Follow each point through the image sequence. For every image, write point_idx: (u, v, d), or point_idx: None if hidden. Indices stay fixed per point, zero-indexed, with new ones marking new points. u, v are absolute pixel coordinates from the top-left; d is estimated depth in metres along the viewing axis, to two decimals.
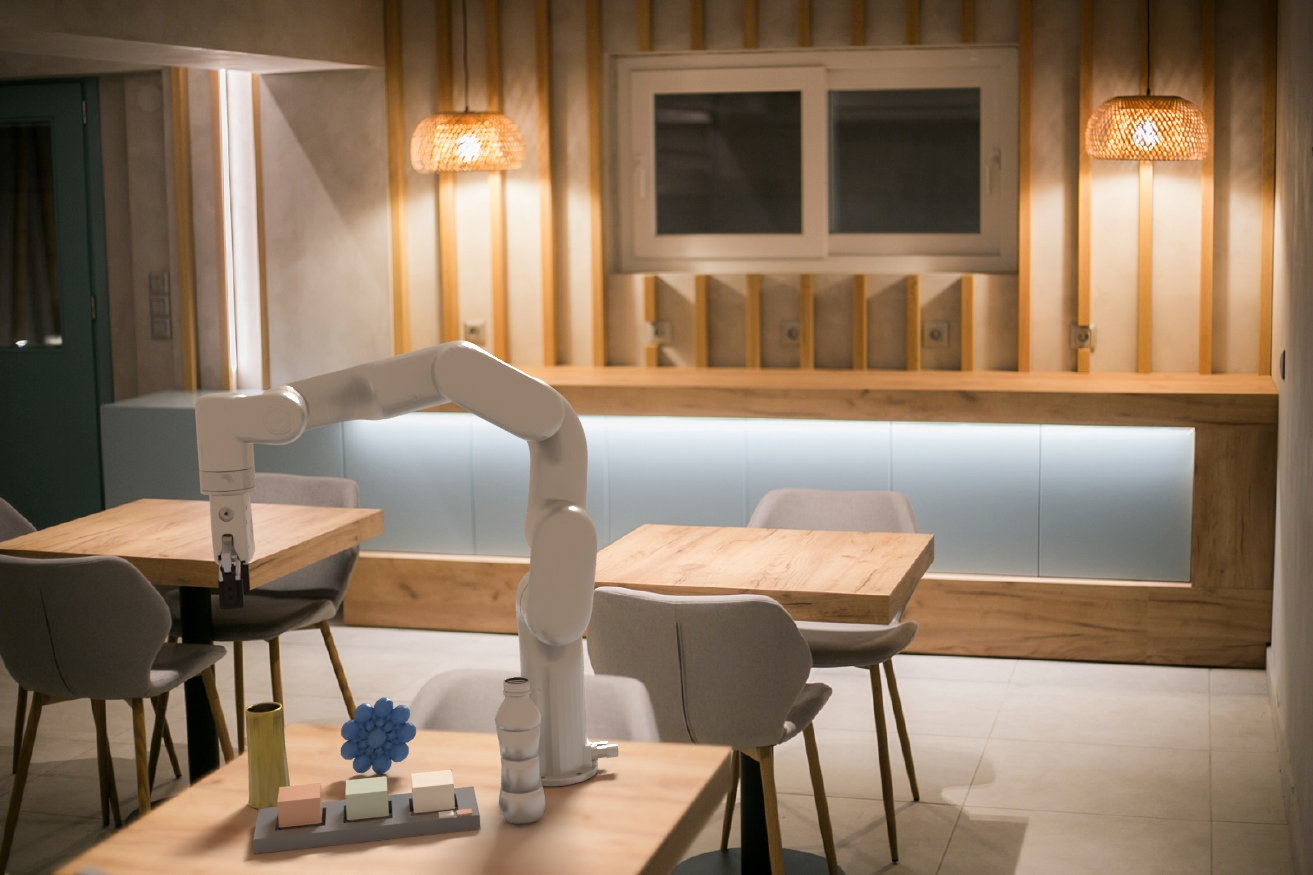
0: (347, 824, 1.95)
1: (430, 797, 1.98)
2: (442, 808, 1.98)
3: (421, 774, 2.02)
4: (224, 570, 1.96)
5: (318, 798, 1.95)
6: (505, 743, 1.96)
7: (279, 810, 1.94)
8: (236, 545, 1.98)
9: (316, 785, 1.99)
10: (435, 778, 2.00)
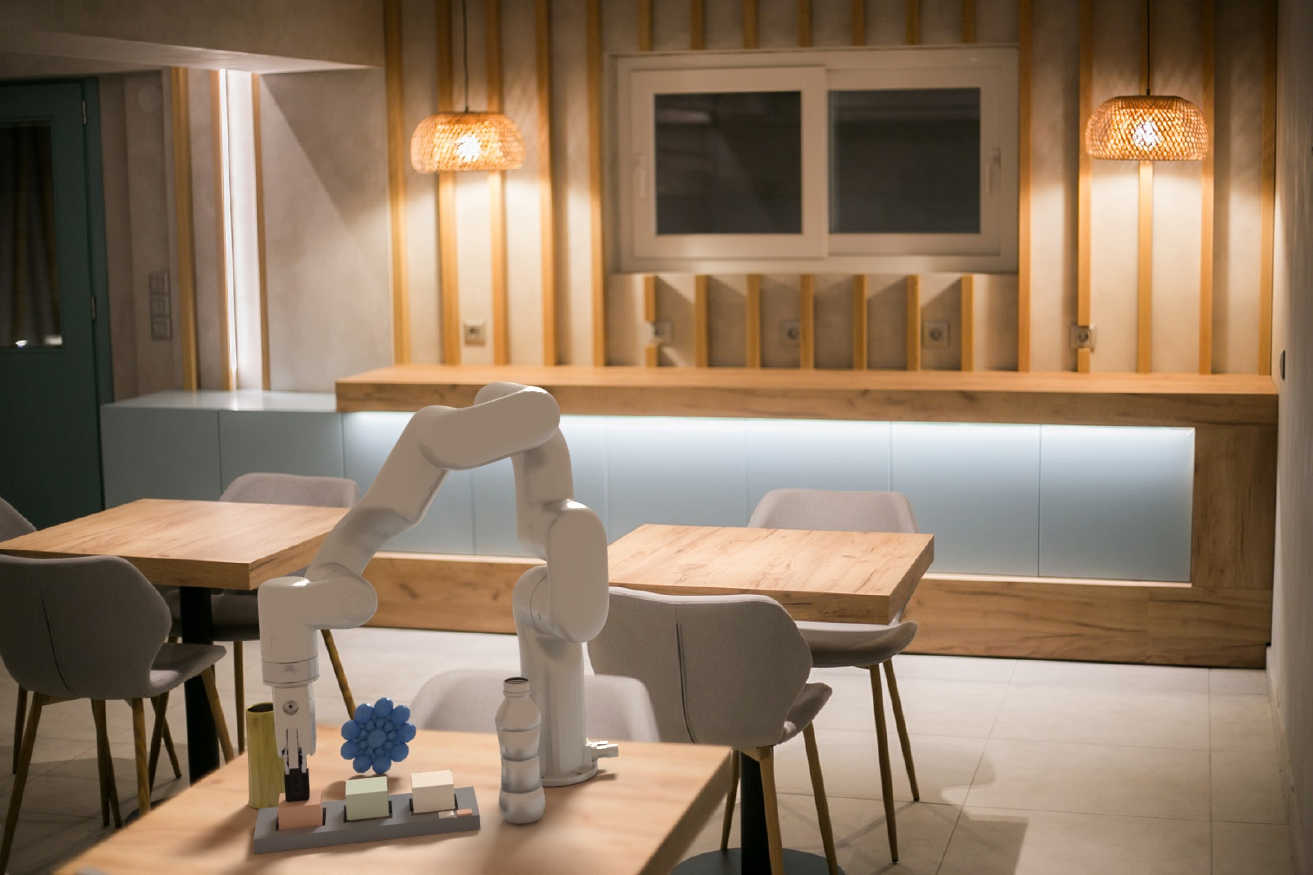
0: (347, 824, 1.95)
1: (430, 797, 1.98)
2: (442, 808, 1.98)
3: (421, 774, 2.02)
4: None
5: (318, 804, 1.95)
6: (505, 743, 1.96)
7: (279, 816, 1.94)
8: (301, 739, 1.91)
9: (316, 791, 1.99)
10: (435, 778, 2.00)
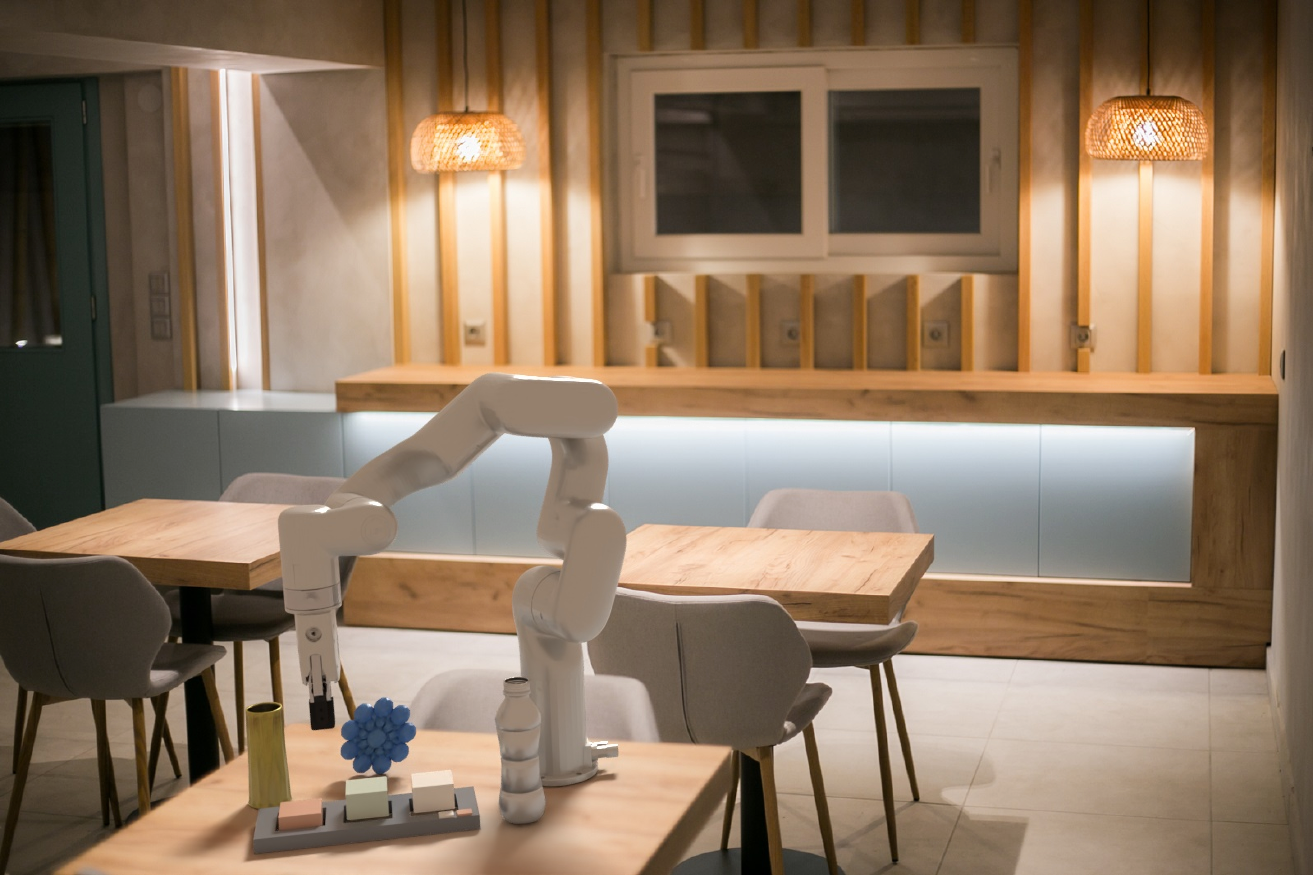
0: (347, 824, 1.95)
1: (430, 797, 1.98)
2: (442, 808, 1.98)
3: (421, 774, 2.02)
4: None
5: (319, 813, 1.95)
6: (505, 743, 1.96)
7: (280, 825, 1.94)
8: (324, 666, 1.91)
9: (317, 800, 2.00)
10: (435, 778, 2.00)
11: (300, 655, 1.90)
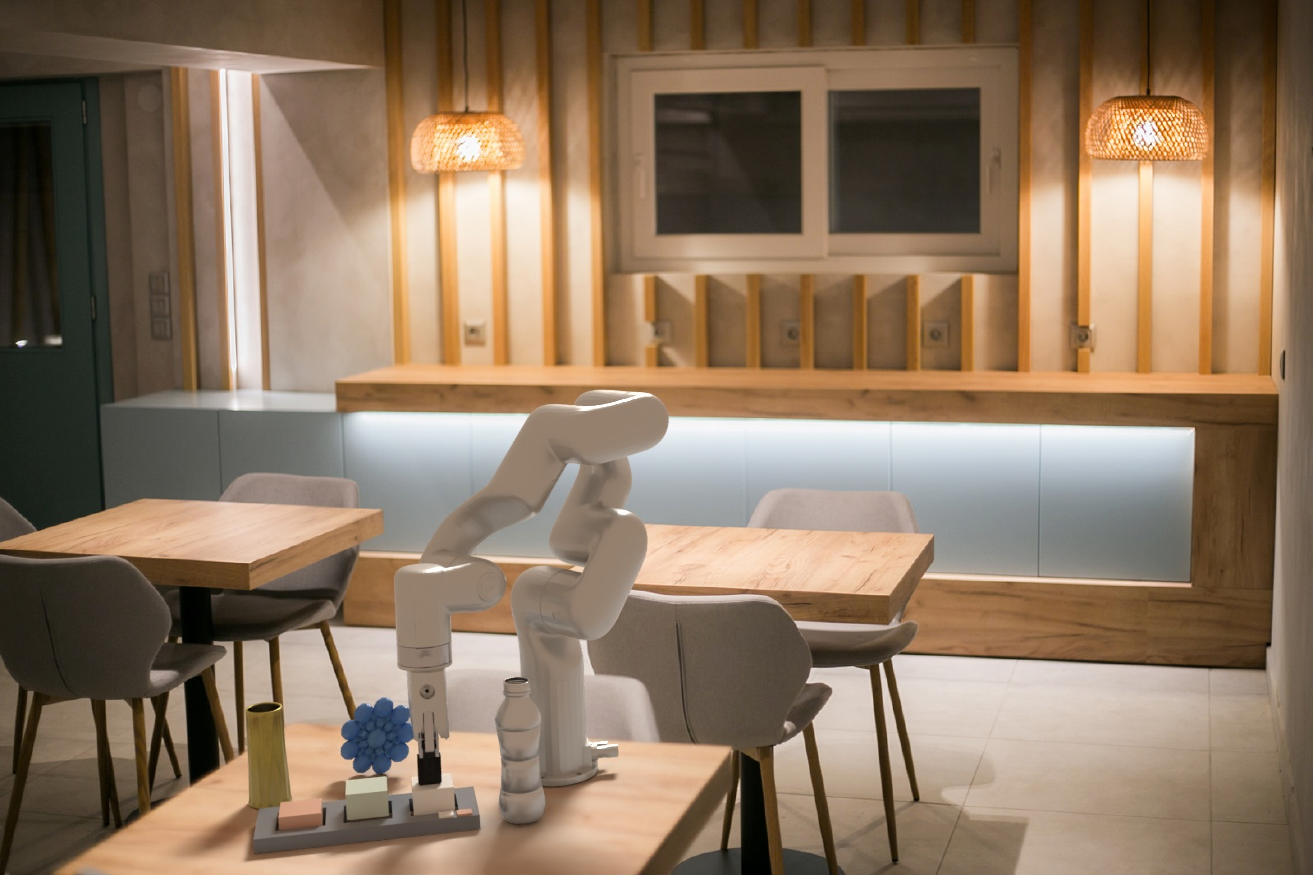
0: (347, 824, 1.95)
1: (430, 800, 1.98)
2: (442, 811, 1.98)
3: None
4: None
5: (319, 813, 1.95)
6: (505, 743, 1.96)
7: (280, 825, 1.94)
8: (437, 723, 1.94)
9: (317, 800, 2.00)
10: None
11: (413, 712, 1.94)
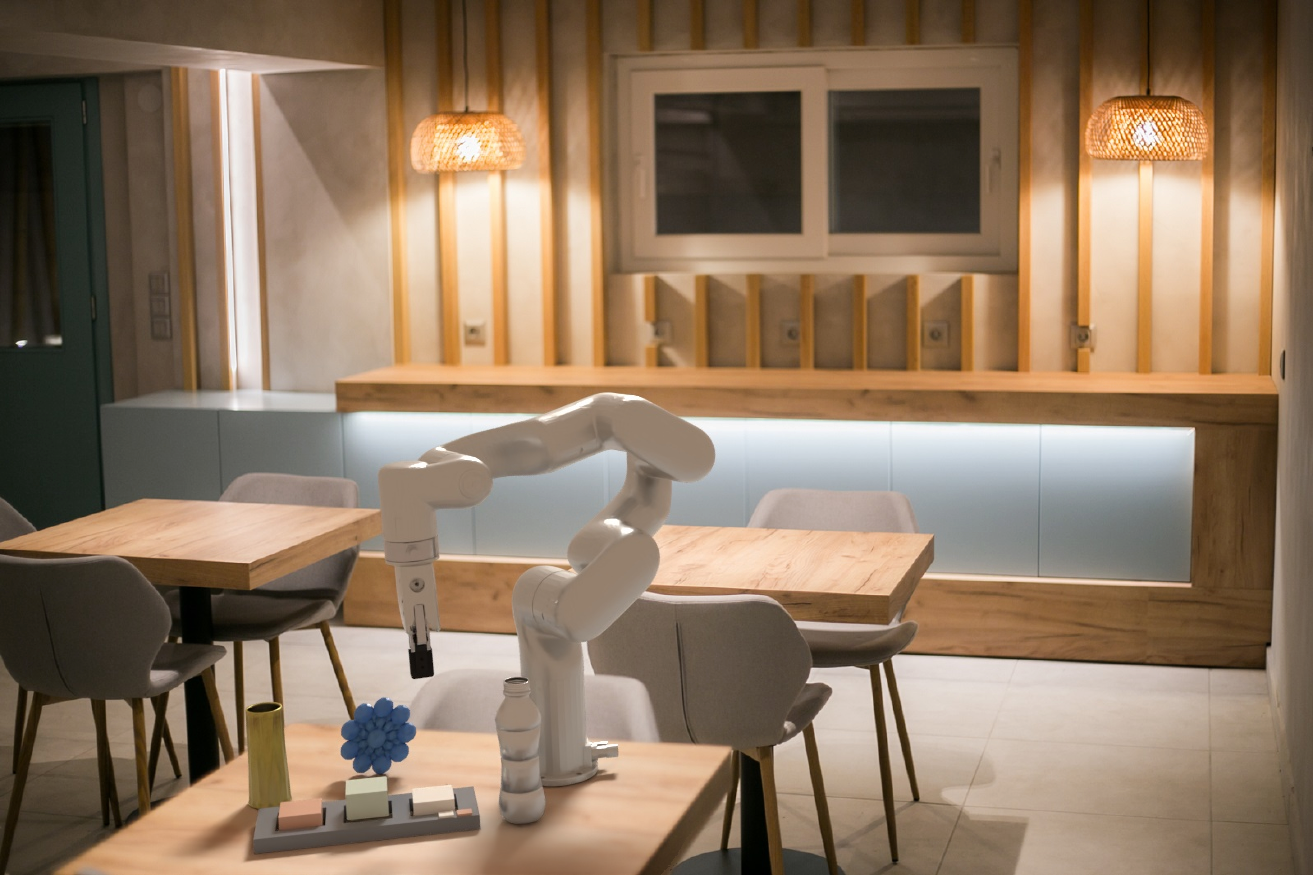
0: (347, 824, 1.95)
1: (431, 812, 1.98)
2: None
3: (422, 789, 2.03)
4: None
5: (319, 813, 1.95)
6: (505, 743, 1.96)
7: (280, 825, 1.94)
8: (428, 615, 1.97)
9: (317, 800, 2.00)
10: (436, 793, 2.01)
11: (404, 605, 1.97)
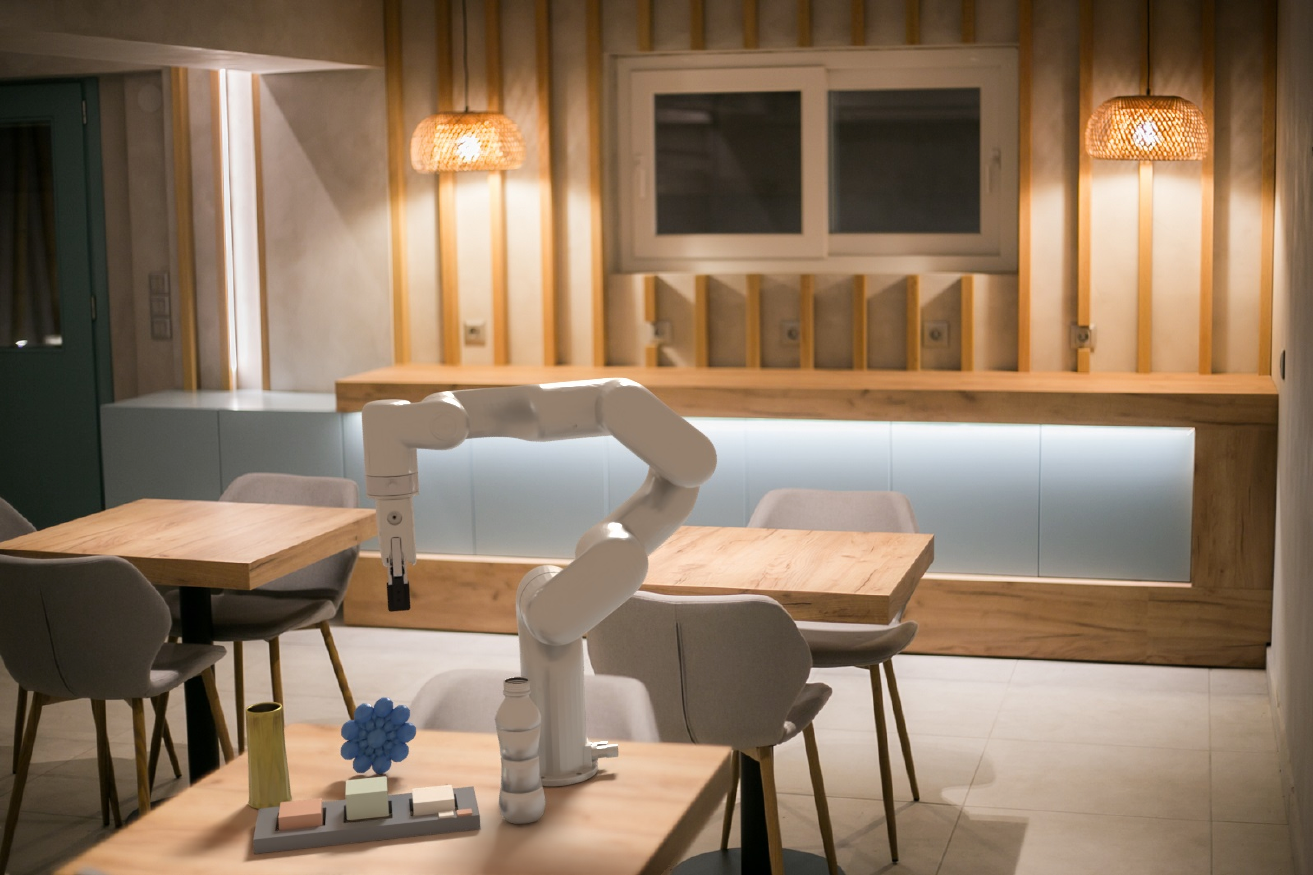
0: (347, 824, 1.95)
1: (431, 812, 1.98)
2: None
3: (422, 789, 2.03)
4: None
5: (319, 813, 1.95)
6: (505, 743, 1.96)
7: (280, 825, 1.94)
8: (404, 548, 2.04)
9: (317, 800, 2.00)
10: (436, 793, 2.01)
11: (382, 537, 2.03)
